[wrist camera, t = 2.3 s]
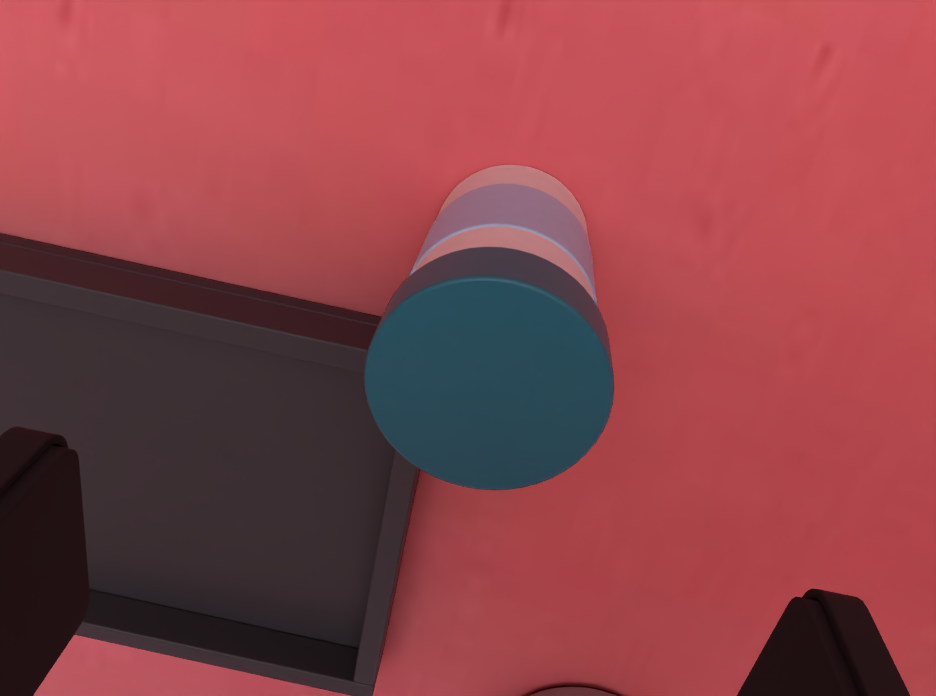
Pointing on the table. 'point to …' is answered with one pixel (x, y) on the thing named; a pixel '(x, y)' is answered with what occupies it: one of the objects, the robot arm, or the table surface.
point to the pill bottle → (495, 338)
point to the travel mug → (572, 692)
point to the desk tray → (213, 462)
